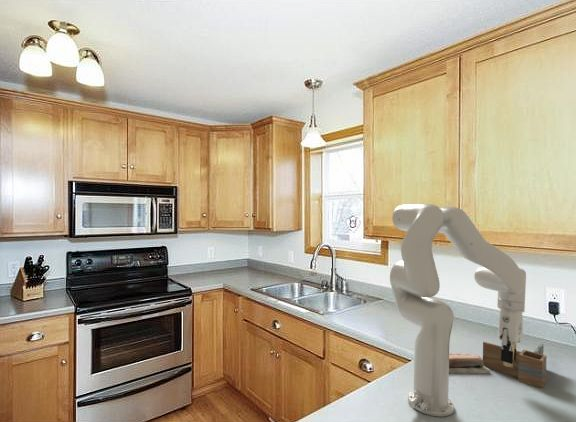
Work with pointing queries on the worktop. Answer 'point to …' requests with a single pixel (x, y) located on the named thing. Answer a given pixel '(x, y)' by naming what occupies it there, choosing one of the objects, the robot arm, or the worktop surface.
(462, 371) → the packaged product
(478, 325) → the worktop surface
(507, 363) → the hinge pin
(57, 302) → the worktop surface
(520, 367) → the hinge
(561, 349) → the worktop surface
